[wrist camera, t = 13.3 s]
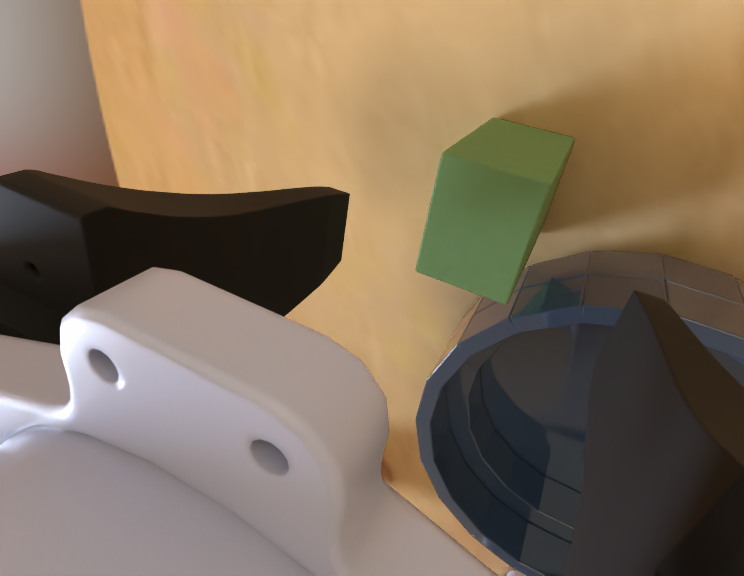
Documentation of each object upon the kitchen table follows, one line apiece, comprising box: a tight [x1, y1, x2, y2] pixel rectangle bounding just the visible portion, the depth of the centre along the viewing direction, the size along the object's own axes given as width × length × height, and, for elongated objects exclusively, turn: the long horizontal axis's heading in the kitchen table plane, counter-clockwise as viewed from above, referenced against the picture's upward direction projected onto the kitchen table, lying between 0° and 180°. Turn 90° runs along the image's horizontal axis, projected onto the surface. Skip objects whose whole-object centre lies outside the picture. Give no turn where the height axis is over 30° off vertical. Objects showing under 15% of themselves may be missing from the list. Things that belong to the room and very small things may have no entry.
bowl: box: [416, 251, 744, 576], centre depth 17 cm, size 13×13×4 cm
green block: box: [416, 118, 574, 304], centre depth 15 cm, size 4×3×6 cm
